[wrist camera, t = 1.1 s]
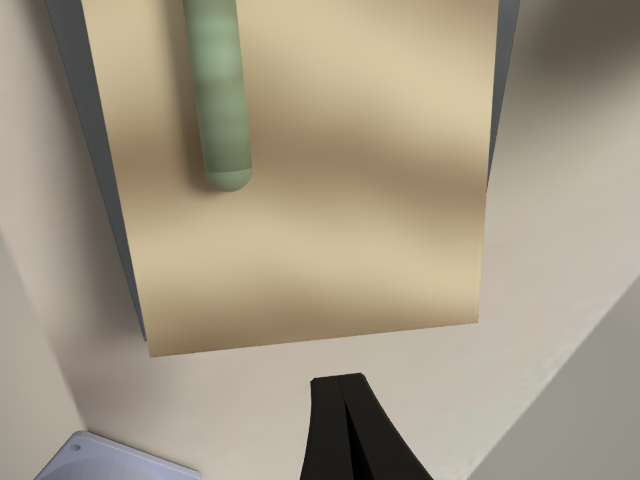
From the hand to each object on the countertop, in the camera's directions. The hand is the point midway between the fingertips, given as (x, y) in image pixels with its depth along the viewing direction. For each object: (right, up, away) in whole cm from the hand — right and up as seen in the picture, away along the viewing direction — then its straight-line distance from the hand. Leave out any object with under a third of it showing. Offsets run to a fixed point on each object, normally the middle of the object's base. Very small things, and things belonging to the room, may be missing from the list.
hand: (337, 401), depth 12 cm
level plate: (-1, +7, +3) cm, 8 cm away
